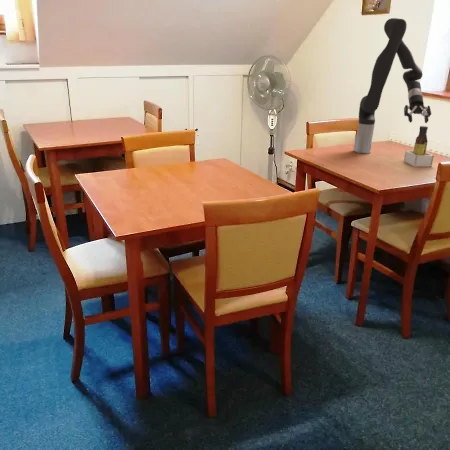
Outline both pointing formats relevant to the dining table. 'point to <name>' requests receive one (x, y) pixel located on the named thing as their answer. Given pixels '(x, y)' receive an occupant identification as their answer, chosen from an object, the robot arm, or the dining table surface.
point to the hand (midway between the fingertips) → (418, 121)
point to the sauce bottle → (421, 141)
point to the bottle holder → (418, 159)
